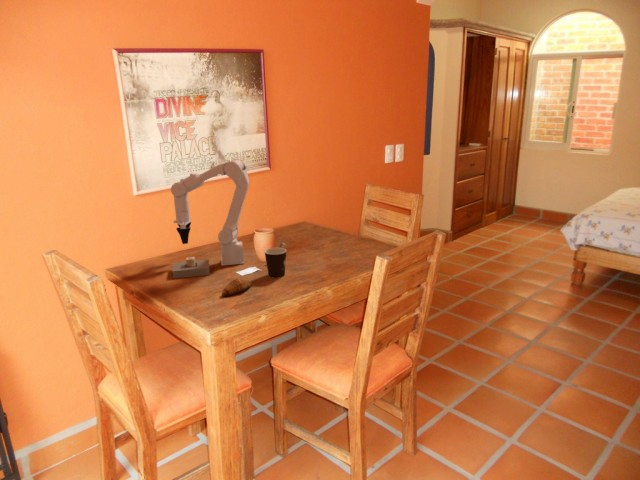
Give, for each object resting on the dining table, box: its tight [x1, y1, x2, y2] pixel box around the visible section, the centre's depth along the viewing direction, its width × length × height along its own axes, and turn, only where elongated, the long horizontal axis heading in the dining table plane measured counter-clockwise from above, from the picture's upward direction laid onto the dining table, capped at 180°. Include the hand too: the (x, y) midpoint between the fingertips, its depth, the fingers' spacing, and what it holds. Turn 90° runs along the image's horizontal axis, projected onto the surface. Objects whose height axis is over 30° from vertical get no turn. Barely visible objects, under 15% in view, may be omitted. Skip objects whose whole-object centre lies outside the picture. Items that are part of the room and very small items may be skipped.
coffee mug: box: [264, 247, 287, 279], centre depth 191 cm, size 12×9×10 cm
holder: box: [172, 259, 210, 279], centre depth 196 cm, size 14×11×3 cm
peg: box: [185, 256, 196, 267], centre depth 196 cm, size 3×3×6 cm
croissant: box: [221, 278, 253, 297], centre depth 176 cm, size 14×7×5 cm, turn 140°
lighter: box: [278, 242, 286, 249], centre depth 206 cm, size 7×2×8 cm, turn 131°
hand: (185, 241), depth 207 cm, fingers open, 7 cm apart
